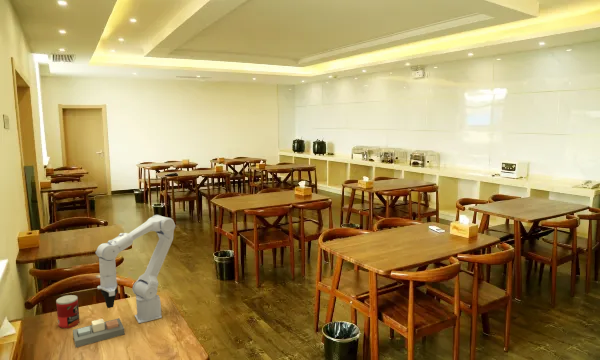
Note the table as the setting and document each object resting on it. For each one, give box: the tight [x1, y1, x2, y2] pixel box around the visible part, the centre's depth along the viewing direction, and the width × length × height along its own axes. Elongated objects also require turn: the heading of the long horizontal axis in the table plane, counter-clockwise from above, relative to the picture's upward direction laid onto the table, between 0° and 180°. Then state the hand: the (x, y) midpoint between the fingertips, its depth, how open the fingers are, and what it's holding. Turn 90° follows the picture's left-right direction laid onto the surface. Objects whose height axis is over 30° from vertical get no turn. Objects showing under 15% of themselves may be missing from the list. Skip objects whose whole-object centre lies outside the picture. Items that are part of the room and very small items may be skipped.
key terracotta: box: [105, 319, 119, 330], centre depth 164 cm, size 4×4×3 cm
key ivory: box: [91, 318, 105, 333], centre depth 161 cm, size 4×4×3 cm
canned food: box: [55, 294, 81, 329], centre depth 170 cm, size 8×8×11 cm
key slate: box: [77, 325, 91, 337], centre depth 159 cm, size 4×4×3 cm
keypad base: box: [72, 317, 125, 348], centre depth 161 cm, size 17×10×2 cm, turn 123°
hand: (110, 307), depth 163 cm, fingers closed
